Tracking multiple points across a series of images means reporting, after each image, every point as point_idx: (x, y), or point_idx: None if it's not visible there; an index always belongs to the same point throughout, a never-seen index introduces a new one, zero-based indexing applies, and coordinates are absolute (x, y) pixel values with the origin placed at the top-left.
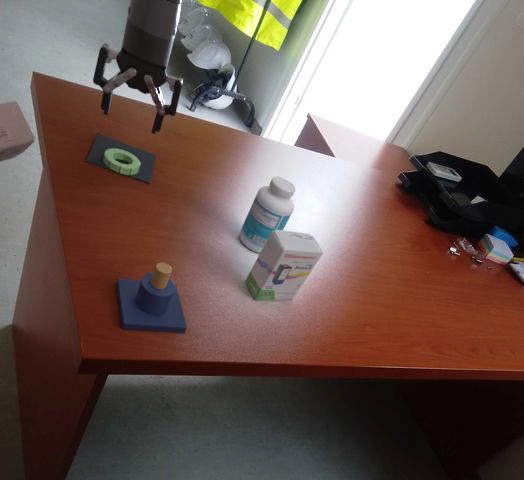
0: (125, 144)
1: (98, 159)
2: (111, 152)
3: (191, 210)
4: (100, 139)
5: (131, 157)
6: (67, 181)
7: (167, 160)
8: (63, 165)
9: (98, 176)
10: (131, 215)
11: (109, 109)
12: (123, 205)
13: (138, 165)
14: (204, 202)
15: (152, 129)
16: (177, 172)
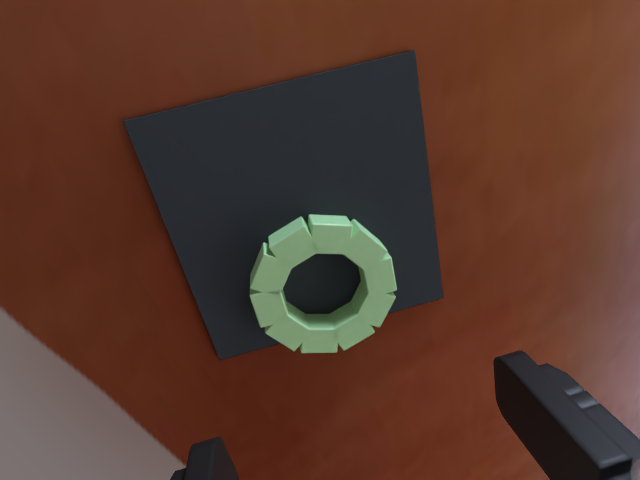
0: (263, 95)
1: (245, 320)
2: (273, 293)
3: (589, 316)
4: (164, 168)
5: (350, 255)
6: (242, 475)
7: (469, 34)
8: (187, 428)
9: (291, 393)
10: (432, 464)
11: (220, 458)
12: (402, 447)
13: (392, 284)
14: (636, 233)
15: (514, 429)
16: (526, 107)
